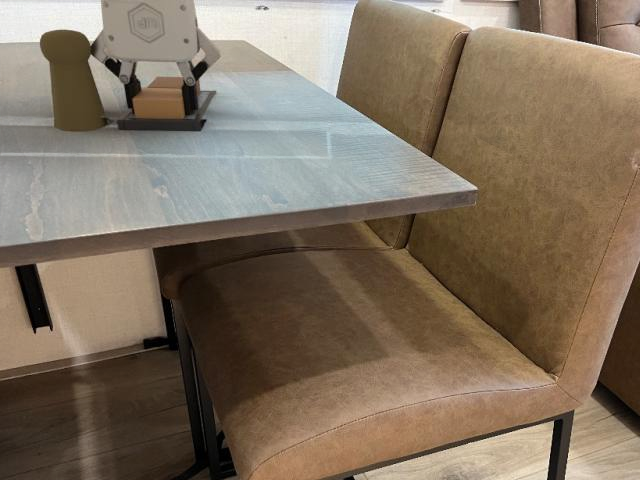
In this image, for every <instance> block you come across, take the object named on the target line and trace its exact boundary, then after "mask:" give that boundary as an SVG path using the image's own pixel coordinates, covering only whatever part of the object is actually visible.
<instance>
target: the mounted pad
mask: <svg viewBox="0 0 640 480" xmlns="http://www.w3.org/2000/svg"><path fill="white" fill-rule="evenodd" d="M183 80H184V78H183V76H156V77H155V78H154V79H153V80H152V81H151V82H150V84H148V86H147V87H146V88H175V89H181V87H182V85H183V84H184V83H183ZM200 82H201V81H200V78H199V79H198V81H197V82H196V88H197V97H198V98H199V96H200V95H201V93H202V92H201V91H202V90H201V83H200Z"/></svg>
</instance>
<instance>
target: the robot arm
mask: <svg viewBox="0 0 640 480" xmlns="http://www.w3.org/2000/svg"><path fill="white" fill-rule="evenodd" d="M195 5H196V4H195V0H100V7H101V8H100V9H101V17H102V18H101V19H102V27H103V28H102V30H101V31H100V32H99V34H98V35H97V37H96V38H95V39H94V40H93V42H92V43H91V44H90V46H91V55H90V56H92V57H93V58H95V60H97V61H98V62H100V63H101V64H103V65H104V67H105V68H106V69H107V70H108V71H110V72H111V74H113V75H114V76H115V77H116V78H118V81H119V82H120V83H121V84H123V89H124V94H125V95H124V96H125V101H126V106H127V109H128V108H129V109H132V112H131V113H132V115H134V116H135V113H134V106H133V100H132V99H133V98H134V97H135V96H136V95H137V94H138V93H139V92H140V91H141V90H142V83H141V80H140V79H139V78H137V75H136V72H137V66H138V62H152V63H154V62H155V63H176V65H177V67H178V70H179V72H180V74H181V77H183V78H184V80H183V83H184V84H183V85H182V87H181V90H182V97H183V102H184V110H185V116H186V117H187V116H190V117H191V115H192V114H193V112H194V111H199V96H198V97H197V88H196V82H197V81H198V79H199V80H200V79H201V77H203V75H204V74H205V73H206V72H207V71H208V70H209V69H210V68H211V67H213V65H214V64H215V63H216V62H217V61H219V60H220V58H221V57H222V52H221V50H220V49H219V48H218V47H217V46H216V44H214V42H212V41H211V39H210V38H209V37H208V36H207V35H206V33H204V32H203V31H202V30H201V28H200V27H199V23H198V17H197V11H196V6H195ZM200 50H202V51H203V52H204V54H205V55H204V57H203V58H202V59H201V60H200V61H198V62H197V64H196V65H195V64H194V62H193V59H194V58H195V57H196V56H197V55H198V54H199V52H200Z"/></svg>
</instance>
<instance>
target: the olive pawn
mask: <svg viewBox="0 0 640 480" xmlns="http://www.w3.org/2000/svg"><path fill="white" fill-rule="evenodd" d="M39 48H40V51H41V53H42V55H43V57H44V58H45V59H46V60H47V61H48V63H49V74H50V75H49V77H50V88H51V100H52V112H53V125H54V128H55V129H57V130H59V131H63V132H74V133H76V132H91V131H96V130H101V129H104V128H106V127H107V126H108V125H109V121H108V118H107V117H105V115H106V111H105V109H104V105H103V102H102V99H101V97H100V93H99V90H98V86H97V84H96V81H95V77H94V74H93V72H92V69H91V65H90V63H89V60H90V57H91V56H92V55H91V42H90V41H89V38H88V37H87V36H86V34H84V33H83V32H81V31H77V30H72V29H54V30H49V31H45V32H44V33H43V34H41V37H40V39H39Z"/></svg>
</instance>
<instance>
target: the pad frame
mask: <svg viewBox="0 0 640 480" xmlns="http://www.w3.org/2000/svg"><path fill="white" fill-rule="evenodd" d="M200 91H201V93H208V95H207V96H206V98H205V100H204V102H203V103H202V105H201V107H200V108H199V109H198V112H197V114H196V115H195V117H194V118H183V119H175V118H164V119H141V118H135V117H128V116H129V115H130V114H131V113H132V109H129V108H128V107H127V109H125V111H124V112H123V113H122V114H121V115H120V116H119V117H118V118H117V119H116V123H117V128H118V131H142V132H143V131H144V132H145V131H146V132H147V131H149V132H153V131H154V132H202V130H203V128H204V126H205V124H206V122H207V121H208V119H207V118H203V116H204V115H205V112H207V109H208V107H209V105H210V104H211V102H212V100H213V98H214V96H215V95H216V93H217V90H200Z"/></svg>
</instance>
